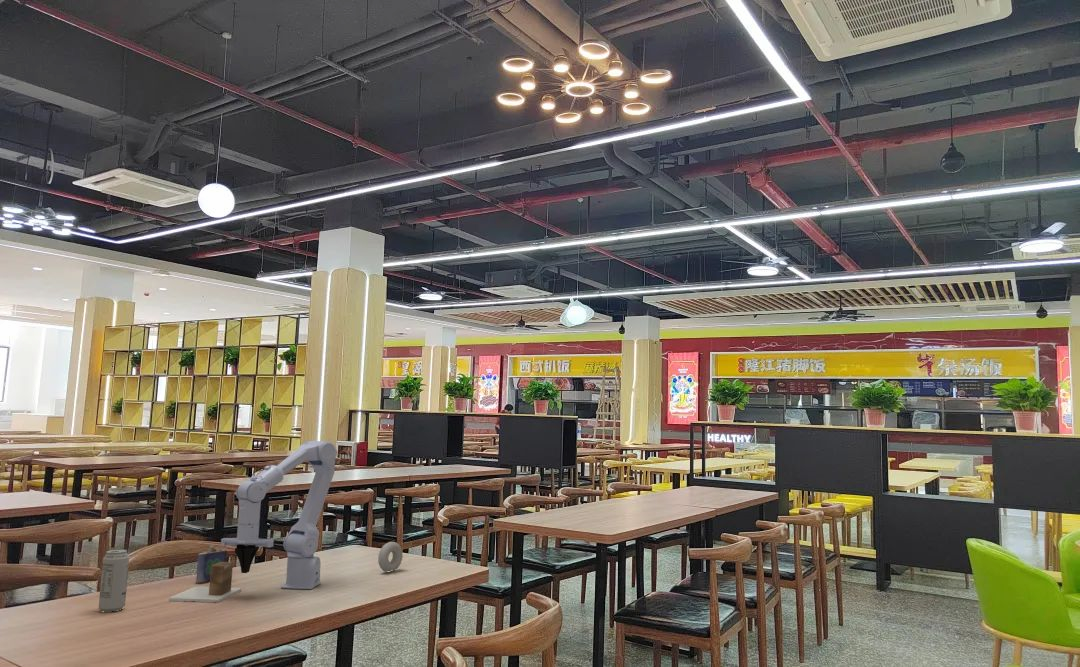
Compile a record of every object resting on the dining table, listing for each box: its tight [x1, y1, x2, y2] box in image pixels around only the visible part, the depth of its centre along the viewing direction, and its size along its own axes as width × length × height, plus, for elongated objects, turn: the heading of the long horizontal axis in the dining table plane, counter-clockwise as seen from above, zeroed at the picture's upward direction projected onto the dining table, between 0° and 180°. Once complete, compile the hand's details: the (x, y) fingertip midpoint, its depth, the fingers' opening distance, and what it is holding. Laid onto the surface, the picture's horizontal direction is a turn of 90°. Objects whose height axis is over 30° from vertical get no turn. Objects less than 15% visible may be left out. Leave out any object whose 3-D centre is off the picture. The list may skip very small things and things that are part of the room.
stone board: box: [168, 586, 242, 604], centre depth 207 cm, size 14×14×1 cm
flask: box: [195, 544, 228, 585], centre depth 226 cm, size 9×3×11 cm, turn 146°
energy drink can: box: [98, 549, 130, 613], centre depth 191 cm, size 6×6×15 cm
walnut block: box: [208, 561, 233, 596], centre depth 207 cm, size 4×6×8 cm, turn 177°
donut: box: [377, 541, 403, 572], centre depth 244 cm, size 10×4×10 cm, turn 146°
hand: (245, 572), depth 207 cm, fingers closed
